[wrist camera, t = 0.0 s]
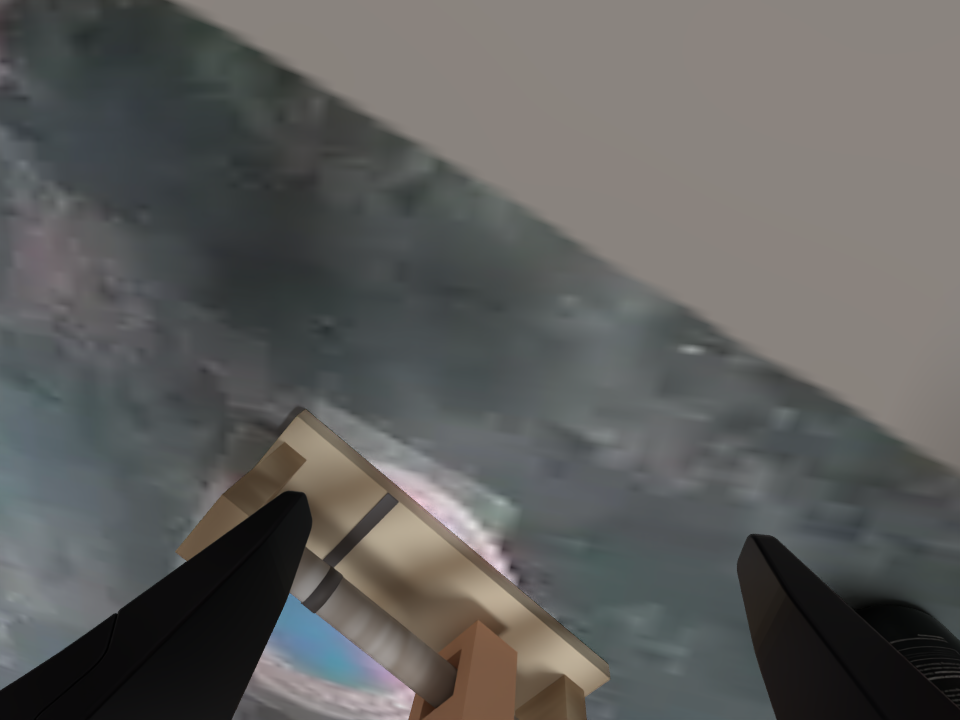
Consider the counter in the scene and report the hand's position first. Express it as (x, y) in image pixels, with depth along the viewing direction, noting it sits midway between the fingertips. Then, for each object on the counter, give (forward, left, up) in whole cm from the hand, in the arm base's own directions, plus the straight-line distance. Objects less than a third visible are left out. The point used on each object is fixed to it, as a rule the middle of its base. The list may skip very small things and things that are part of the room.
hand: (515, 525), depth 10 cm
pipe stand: (-15, -5, -15) cm, 22 cm away
